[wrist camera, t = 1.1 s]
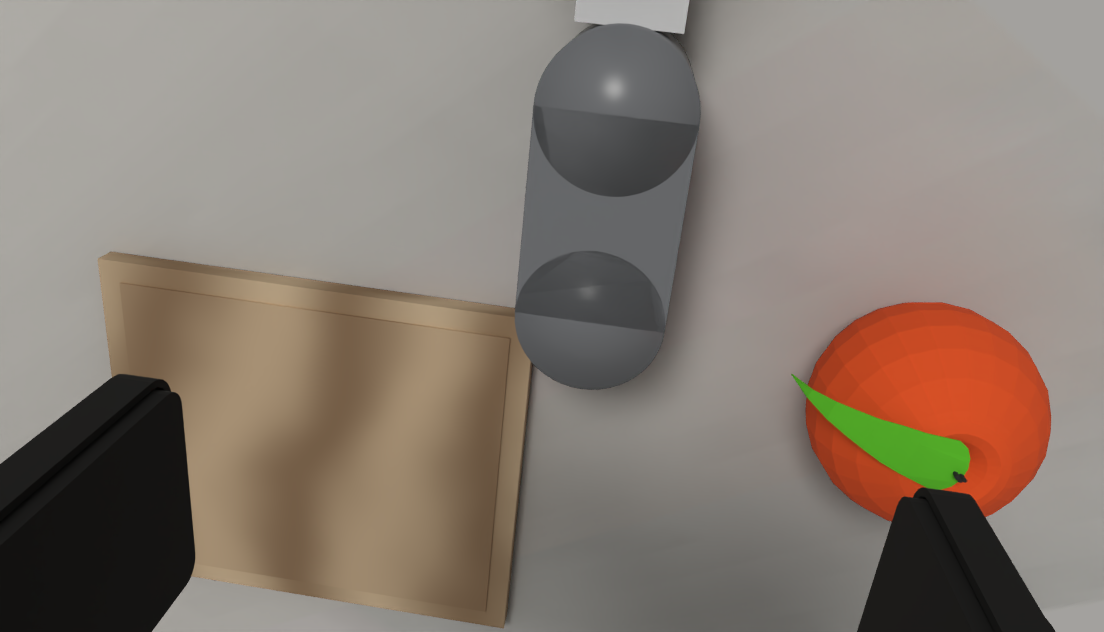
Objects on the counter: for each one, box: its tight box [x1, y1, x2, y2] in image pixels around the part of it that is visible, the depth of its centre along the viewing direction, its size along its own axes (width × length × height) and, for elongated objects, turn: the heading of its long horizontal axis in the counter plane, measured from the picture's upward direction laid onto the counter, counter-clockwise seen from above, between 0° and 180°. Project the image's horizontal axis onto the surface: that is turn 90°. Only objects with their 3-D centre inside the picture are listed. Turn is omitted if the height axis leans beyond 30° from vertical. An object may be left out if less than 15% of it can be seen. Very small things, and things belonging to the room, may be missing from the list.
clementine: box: [791, 303, 1051, 521], centre depth 26 cm, size 8×7×7 cm
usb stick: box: [515, 0, 701, 390], centre depth 25 cm, size 13×4×5 cm, turn 174°
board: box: [98, 252, 533, 628], centre depth 33 cm, size 16×14×1 cm
